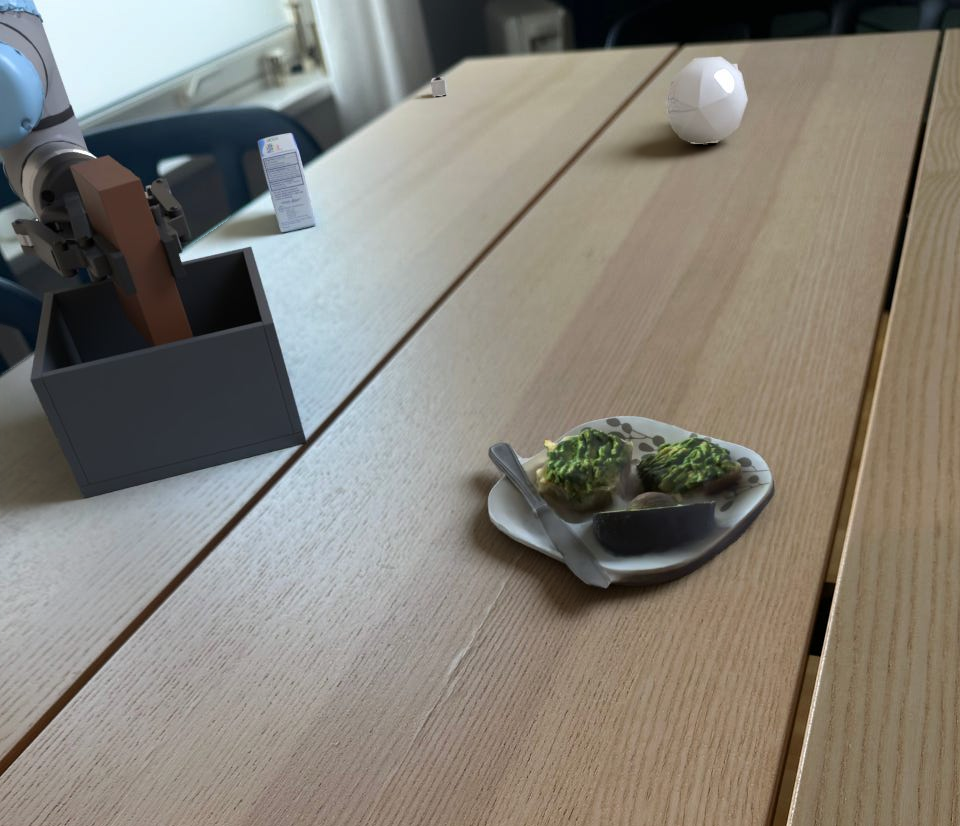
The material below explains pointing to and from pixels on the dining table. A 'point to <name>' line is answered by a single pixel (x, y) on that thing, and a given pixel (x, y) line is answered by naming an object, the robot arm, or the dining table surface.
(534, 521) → the salad plate
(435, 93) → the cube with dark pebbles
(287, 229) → the medicine box
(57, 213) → the robot arm
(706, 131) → the white faceted oblong piece
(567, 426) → the dining table surface
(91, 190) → the reddish brown rectangular block
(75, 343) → the open storage box
